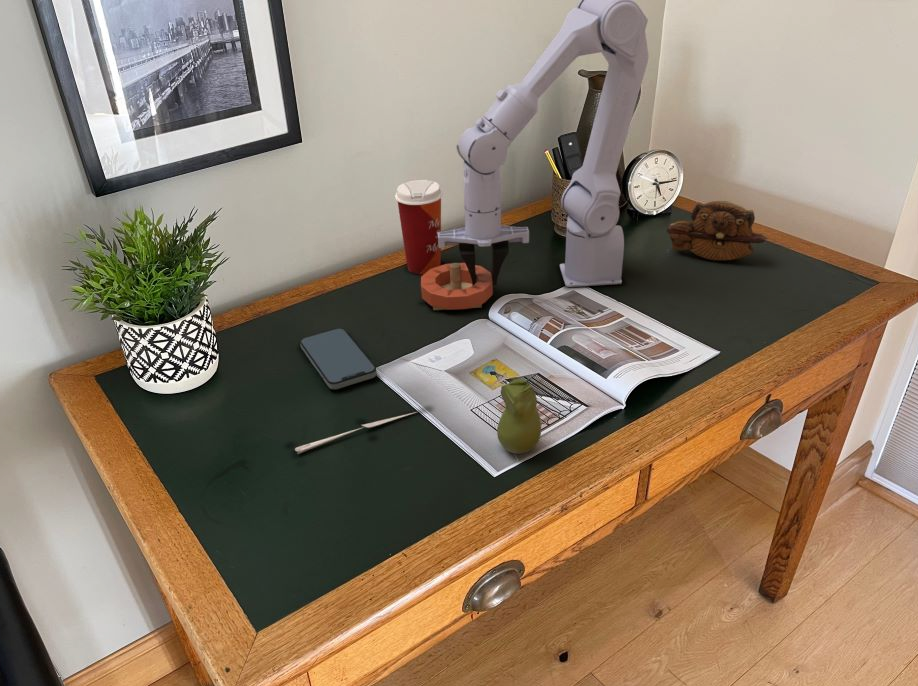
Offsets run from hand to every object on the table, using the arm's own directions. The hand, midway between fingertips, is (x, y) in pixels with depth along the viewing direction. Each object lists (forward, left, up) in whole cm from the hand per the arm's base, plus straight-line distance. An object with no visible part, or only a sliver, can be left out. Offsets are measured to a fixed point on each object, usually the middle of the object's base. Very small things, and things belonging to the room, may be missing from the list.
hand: (484, 283), depth 131 cm
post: (+5, 0, -2) cm, 5 cm away
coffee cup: (+10, -12, -3) cm, 16 cm away
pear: (-2, +40, -3) cm, 40 cm away
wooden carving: (-41, -9, -3) cm, 42 cm away
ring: (+5, 0, -1) cm, 5 cm away
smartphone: (+23, +18, -3) cm, 29 cm away
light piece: (+18, +35, -2) cm, 40 cm away
